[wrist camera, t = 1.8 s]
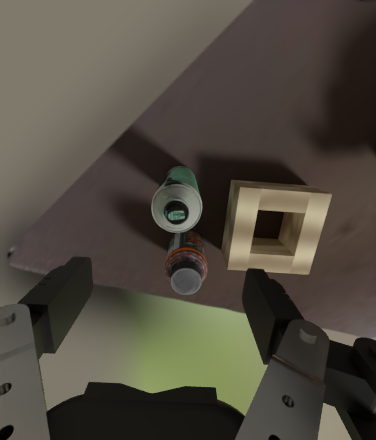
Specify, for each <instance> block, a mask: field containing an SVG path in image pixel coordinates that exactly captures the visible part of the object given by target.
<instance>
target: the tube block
mask: <svg viewBox="0 0 376 440" xmlns="http://www.w3.org/2000/svg"><path fill="white" fill-rule="evenodd" d="M331 197H332V194H330V193H327V192H325V191H322V190H319V189H316V188H313V187H311V186H306V185H293V184H280V183H267V182H254V181H241V180H231V185H230V192H229V199H228V206H227V214H226V221H225V228H224V235H223V242H222V249H221V251H222V254H223V257H224V260H225V263H226V266H227V269H229V270H245V271H247V269H248V268H257V269H264V270H265V272H277V273H292V274H308V275H309V272H310V269H311V265H312V262H313V258H314V255H315V251H316V248H317V245H318V241H319V238H320V234H321V231H322V227H323V224H324V221H325V217H326V214H327V210H328V207H329V203H330V200H331ZM258 210H268V211H282V212H284V216H283V220H282V224H281V229H280V233H279V237H278V239H269V238H254V237H253V233H254V228H255V223H256V217H257V212H258Z"/></svg>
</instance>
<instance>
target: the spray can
mask: <svg viewBox="0 0 376 440" xmlns="http://www.w3.org/2000/svg"><path fill="white" fill-rule="evenodd" d="M151 211H152V215H153V218H154V220H155V221H156V223H157V224H158V225H159V226H160V227H161V228H163V229H164V230H167V231H169V232H174V233H179V232H184V231H187V230H189V229H191V228H192V227H194V226H195V225H196V223H197V222H198V221H199V219H200V216H201V213H202V201H201V197H200V193H199V190H198V186H197V182H196V179H195V175H194V174H193V172H192V171H191V170H190V169H189V168H187V167H184V166H176V167H173V168H172V169H170V170H169V171H168V173H167V174H166V176H165V177H164V179H163V181H162V182H161V184H160V186H159V188H158V189H157V191H156V193H155V194H154V197H153V199H152V205H151Z"/></svg>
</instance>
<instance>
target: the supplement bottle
mask: <svg viewBox="0 0 376 440" xmlns="http://www.w3.org/2000/svg"><path fill="white" fill-rule="evenodd" d="M165 274H166V277H167V279H168V280H169V281H170V283H171V286H172V288H173V290H174V291H176V292H177V293H179V294H182V295H189V294H193V293H195V292H196V291H197V290H198V289H199V288H200V286H201V283H202V282H203V281H204V279H205V277H206V275H207V261H206V255H205V248H204V243H203V240H202V238H201V236H200V235H199V234H198V233H197V232H195V231H192V230H187V231H184V232H179V233H175V234H174V235H173V236H172V238H171V239H170V242H169V247H168V253H167V258H166V263H165Z"/></svg>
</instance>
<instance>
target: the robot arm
mask: <svg viewBox="0 0 376 440" xmlns="http://www.w3.org/2000/svg"><path fill="white" fill-rule="evenodd" d="M361 1H371V0H361ZM92 288H93V279H92V265H91V259H90V258H89V257H72V258H71V259H70V260H69V261H68V262H67V263H66V264H65V265H64V266H59V267H58V268H56V269H54V270H52V271H50V272H49V273H48V274H47V275H46V276H45V277H44V279H42V280H41V281H40V282H39V283H38V285H36V286H35V287H34V288H33V289H32V290H30V291H29V292H28V293H27V294H26V295H25V296H24V297H23V298H22V299H21V300H20V301H19V302H18V303H17V304H10V305H6V306H3V307H0V440H317V439H318V432H319V425H320V419H321V413H322V407H323V403H326V404H328V405H331V406H334V407H335V408H336V410H337V412H338V414H339V415H340V418H341V420H342V421H343V423H344V425H345V427H346V429H347V431H348V433H349V435H350V437H351V439H352V440H376V340H373V339H370V338H357V339H356V340H355V342H354V345H353V347H352V346H348V345H345V344H342V343H338V342H335V341H332V340H329V338H328V336H327V334H326V333H325V332H324V331H323V330H322V329H321V328H320V327H318V326H317V325H315V324H313V323H311V322H309V321H306V320H305V319H304V318H303V316H302V315H301V313H300V312H299V311H298V309H297V308H296V306H295V305H294V303H293V302H292V300H291V299H290V297H289V296H288V294H287V293H286V291H285V290H284V288H283V287H282V285H280V284H279V283H278V282H277V281H275V280H274V279H269V277H268V275H267V274H266V272H265V270H264V269H257V268H248V269H247V272H246V277H245V282H244V288H243V293H242V303H243V307H244V310H245V313H246V315H247V318H248V321H249V324H250V327H251V329H252V332H253V335H254V338H255V341H256V344H257V347H258V350H259V352H260V355H261V358H262V361H263V364H264V365H268V367H267V369H266V371H265V374H264V376H263V378H262V380H261V382H260V385H259V387H258V389H257V392H256V394H255V396H254V398H253V400H252V403H251V405H250V407H249V409H248V411H247V414H246V416H244V415H243V414H242V413H241V412H239V411H238V410H237V409H235V408H234V407H232V406H231V405H229V404H227V403H225V402H223V401H220V400H217V394H216V388H212V387H190V386H184V387H180V388H175V389H171V390H167V391H162V392H158V393H148V392H145V391H141V390H138V389H136V388H133V387H130V386H127V385H124V384H121V383H101V382H89V383H88V385H87V388H86V391H85V393H84V394H82V395H78V396H76V397H73V398H70V399H68V400H66V401H64V402H62V403H60V404H58V405H56V406H55V407H53V408H51V409H50V410H49V411H47V406H46V400H45V395H44V389H43V383H42V377H41V371H40V365H39V359H40V357H41V356H42V354H43V353H55V352H56V351H57V349H58V348H59V346H60V344H61V343H62V341H63V340H64V338H65V336H66V335H67V333H68V331H69V330H70V328H71V326H72V325H73V323H74V322H75V320H76V318H77V317H78V315H79V314H80V312H81V310H82V309H83V307H84V306H85V304H86V302H87V301H88V299H89V297H90V295H91V292H92Z"/></svg>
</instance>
